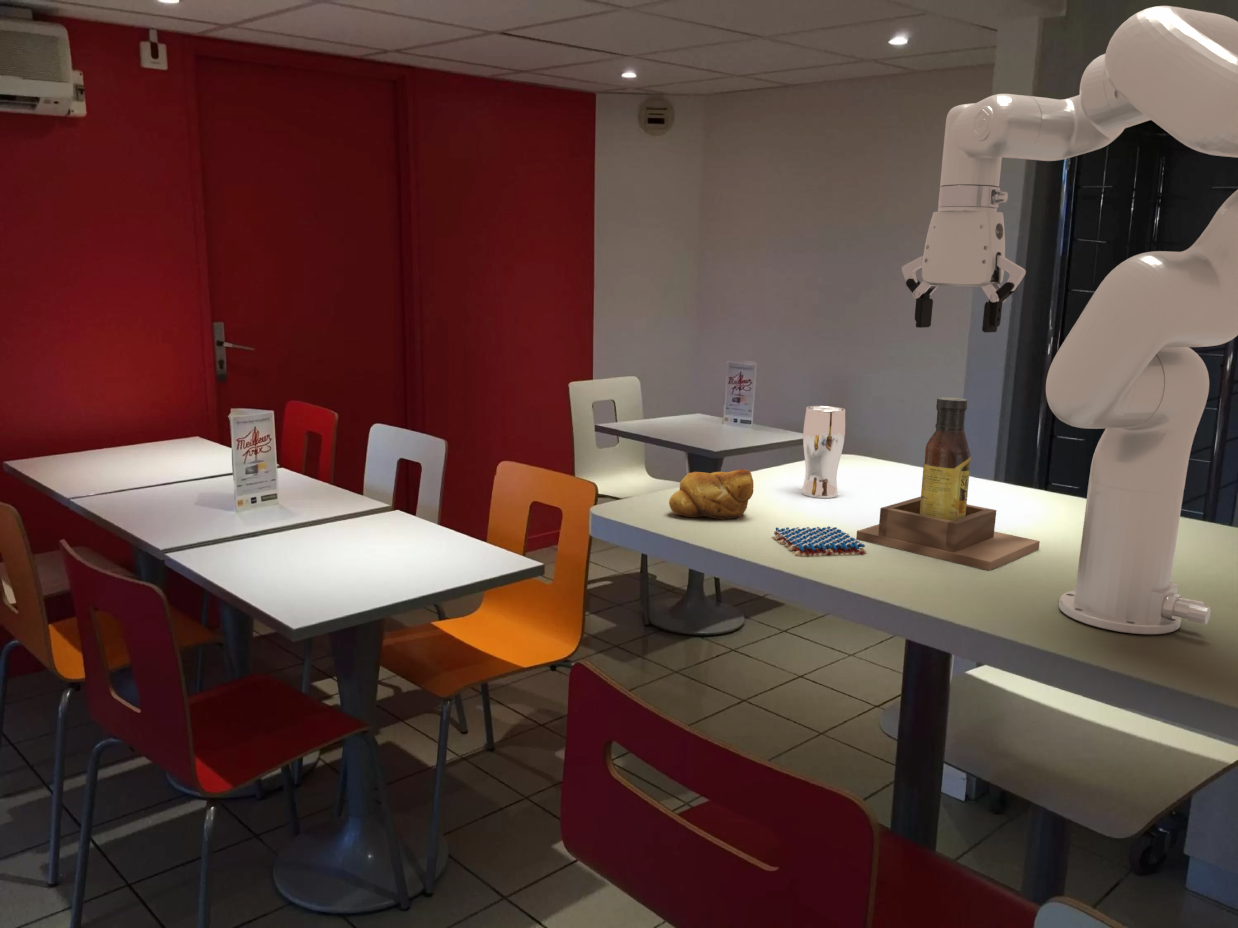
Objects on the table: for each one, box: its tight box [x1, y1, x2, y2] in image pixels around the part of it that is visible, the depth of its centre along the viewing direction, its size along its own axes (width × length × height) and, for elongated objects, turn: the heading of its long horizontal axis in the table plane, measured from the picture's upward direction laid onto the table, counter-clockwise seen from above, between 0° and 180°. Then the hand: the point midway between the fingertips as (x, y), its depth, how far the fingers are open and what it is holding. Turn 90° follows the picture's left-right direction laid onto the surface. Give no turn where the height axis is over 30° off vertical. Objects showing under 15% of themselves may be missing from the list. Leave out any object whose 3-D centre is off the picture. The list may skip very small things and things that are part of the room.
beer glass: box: [801, 405, 846, 499], centre depth 173 cm, size 7×7×15 cm
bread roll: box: [668, 468, 754, 520], centre depth 157 cm, size 13×10×8 cm
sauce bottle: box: [920, 397, 972, 521], centre depth 142 cm, size 6×6×20 cm
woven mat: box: [770, 526, 867, 557], centre depth 142 cm, size 10×11×2 cm
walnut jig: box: [855, 496, 1041, 571], centre depth 144 cm, size 20×16×5 cm
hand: (955, 329), depth 139 cm, fingers open, 9 cm apart
